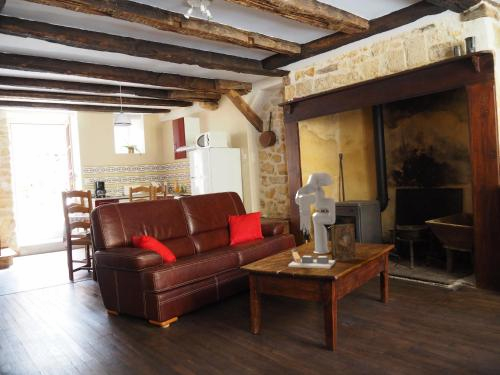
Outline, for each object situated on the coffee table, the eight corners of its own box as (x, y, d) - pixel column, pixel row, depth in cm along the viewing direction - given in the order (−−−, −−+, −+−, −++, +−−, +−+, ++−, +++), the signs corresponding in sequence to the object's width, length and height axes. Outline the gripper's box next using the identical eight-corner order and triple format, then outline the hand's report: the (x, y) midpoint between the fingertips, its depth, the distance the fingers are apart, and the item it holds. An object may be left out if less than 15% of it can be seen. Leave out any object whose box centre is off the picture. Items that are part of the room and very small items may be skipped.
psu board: (296, 261, 296) (295, 253, 296) (335, 262, 285) (334, 254, 285) (288, 266, 279) (288, 258, 279) (329, 268, 268) (329, 259, 268)
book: (353, 258, 295) (351, 223, 294) (357, 259, 289) (355, 224, 288) (331, 260, 291) (330, 225, 291) (335, 262, 286) (333, 226, 285)
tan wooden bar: (297, 255, 288) (296, 249, 288) (301, 263, 262) (301, 256, 262) (291, 255, 289) (291, 249, 288) (295, 264, 262) (295, 257, 262)
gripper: (302, 212, 290) (304, 238, 291) (296, 214, 277) (298, 241, 277) (313, 212, 287) (314, 238, 288) (307, 214, 274) (309, 241, 274)
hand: (306, 239), depth 283 cm, fingers closed
